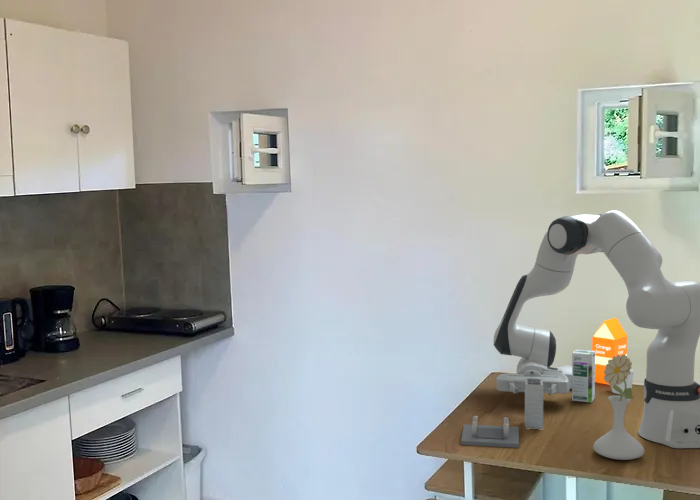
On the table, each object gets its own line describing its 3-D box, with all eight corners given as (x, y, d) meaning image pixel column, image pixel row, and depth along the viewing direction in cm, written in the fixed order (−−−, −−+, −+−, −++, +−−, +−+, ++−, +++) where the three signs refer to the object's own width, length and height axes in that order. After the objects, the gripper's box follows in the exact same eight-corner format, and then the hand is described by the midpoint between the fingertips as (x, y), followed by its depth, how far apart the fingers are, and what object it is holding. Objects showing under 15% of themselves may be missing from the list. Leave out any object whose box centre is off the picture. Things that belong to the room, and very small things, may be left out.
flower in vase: (587, 447, 188) (588, 346, 186) (635, 447, 187) (637, 345, 185) (601, 467, 175) (603, 358, 173) (653, 467, 174) (655, 358, 172)
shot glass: (630, 396, 230) (631, 373, 230) (607, 393, 234) (607, 370, 233) (635, 390, 236) (635, 368, 235) (612, 387, 240) (612, 365, 239)
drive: (542, 423, 207) (542, 378, 206) (543, 430, 201) (543, 384, 200) (524, 422, 208) (524, 377, 207) (525, 429, 202) (525, 383, 201)
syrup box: (571, 401, 226) (571, 352, 225) (575, 396, 232) (576, 348, 230) (591, 403, 224) (592, 354, 222) (595, 398, 229) (595, 350, 228)
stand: (518, 430, 201) (518, 413, 200) (518, 447, 188) (518, 429, 188) (464, 428, 204) (464, 411, 203) (460, 444, 191) (460, 427, 191)
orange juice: (591, 381, 248) (592, 319, 246) (604, 376, 254) (605, 316, 252) (614, 385, 242) (615, 322, 240) (627, 380, 248) (628, 318, 247)
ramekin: (586, 392, 235) (586, 375, 235) (549, 388, 241) (549, 371, 240) (594, 384, 245) (594, 367, 244) (559, 380, 250) (559, 364, 250)
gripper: (495, 366, 230) (494, 378, 216) (567, 369, 225) (570, 381, 212) (496, 387, 230) (495, 400, 217) (567, 390, 226) (570, 403, 213)
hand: (533, 391), depth 214 cm, fingers open, 8 cm apart
